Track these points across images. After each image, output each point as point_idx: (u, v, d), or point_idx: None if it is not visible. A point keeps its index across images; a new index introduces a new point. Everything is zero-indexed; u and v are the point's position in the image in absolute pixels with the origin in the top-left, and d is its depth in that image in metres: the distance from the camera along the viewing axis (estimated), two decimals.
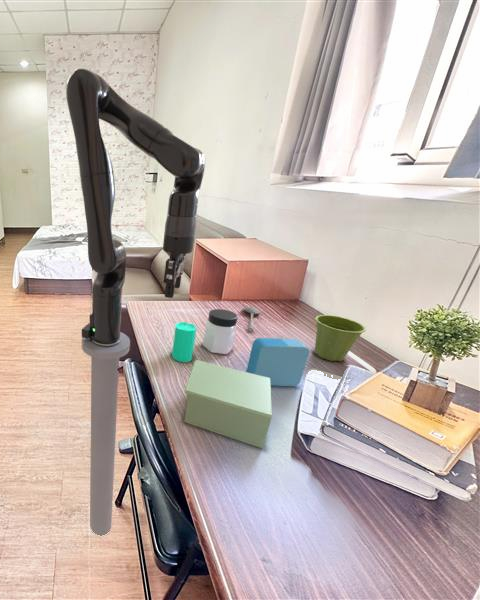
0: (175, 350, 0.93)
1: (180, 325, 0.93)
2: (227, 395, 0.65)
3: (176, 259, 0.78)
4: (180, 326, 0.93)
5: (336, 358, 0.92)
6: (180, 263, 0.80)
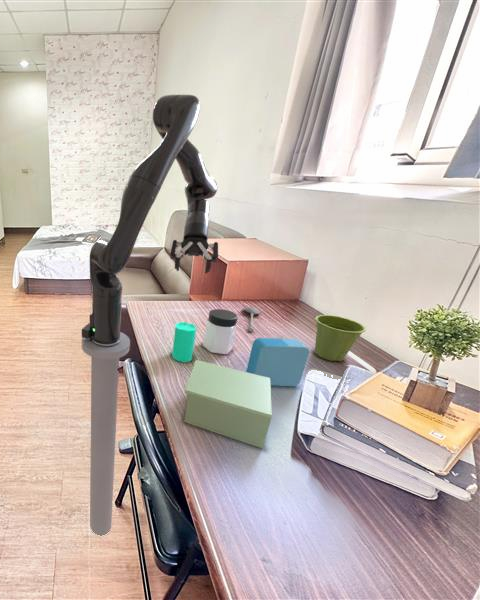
0: (175, 350, 0.93)
1: (180, 325, 0.93)
2: (227, 395, 0.65)
3: None
4: (180, 326, 0.93)
5: (336, 358, 0.92)
6: None
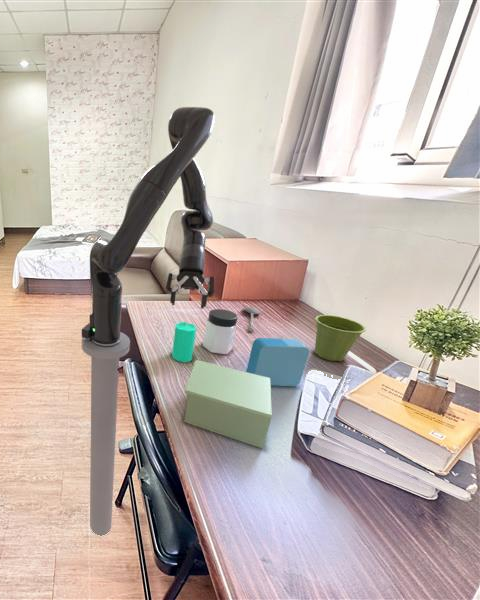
0: (175, 350, 0.93)
1: (180, 325, 0.93)
2: (227, 395, 0.65)
3: None
4: (180, 326, 0.93)
5: (336, 358, 0.92)
6: None
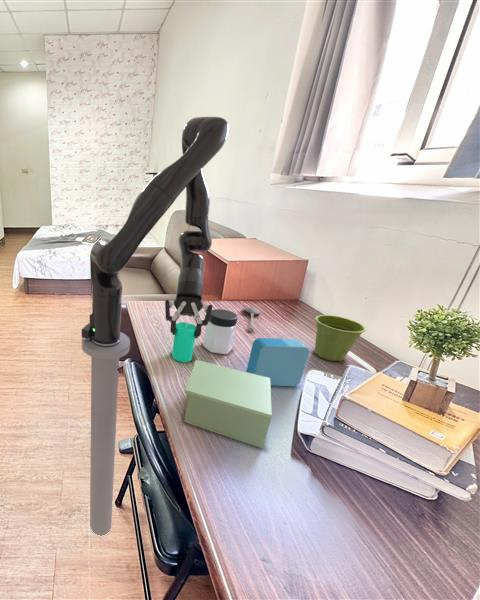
0: (175, 350, 0.93)
1: (180, 325, 0.93)
2: (227, 395, 0.65)
3: None
4: (180, 326, 0.93)
5: (336, 358, 0.92)
6: None
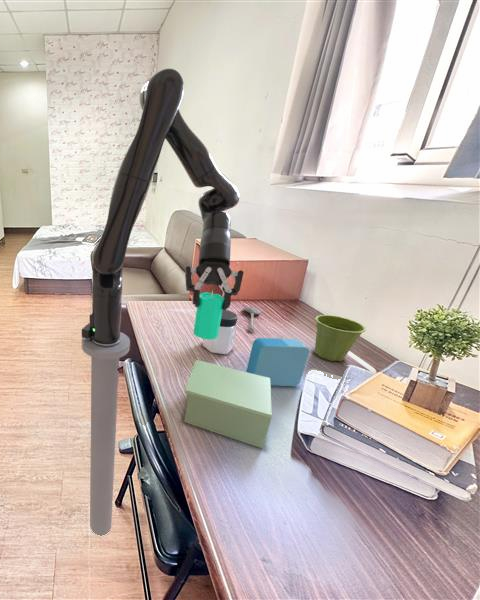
0: (198, 325, 0.78)
1: (204, 295, 0.78)
2: (227, 395, 0.65)
3: None
4: (204, 296, 0.77)
5: (336, 358, 0.92)
6: None
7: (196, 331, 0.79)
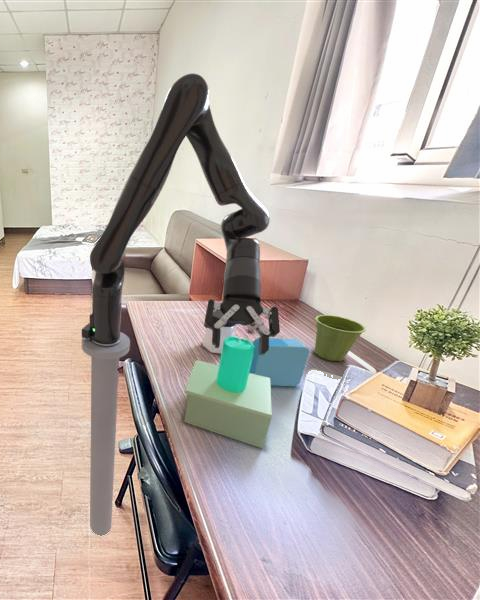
0: (223, 375, 0.67)
1: (230, 341, 0.67)
2: (227, 395, 0.65)
3: None
4: (230, 342, 0.66)
5: (336, 358, 0.92)
6: None
7: (220, 381, 0.68)
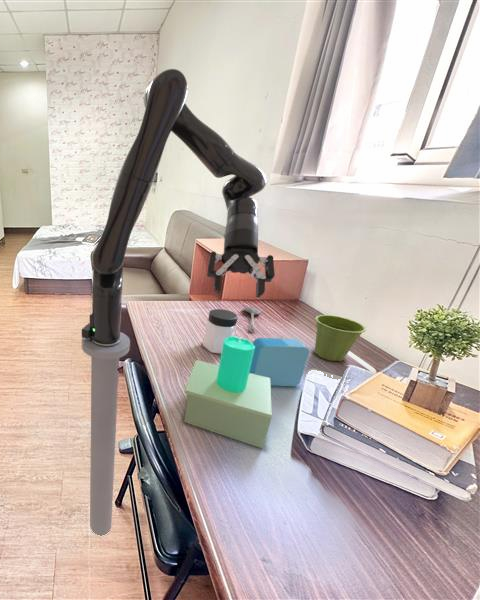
0: (223, 375, 0.67)
1: (230, 341, 0.67)
2: (227, 395, 0.65)
3: None
4: (230, 342, 0.66)
5: (336, 358, 0.92)
6: None
7: (220, 381, 0.68)
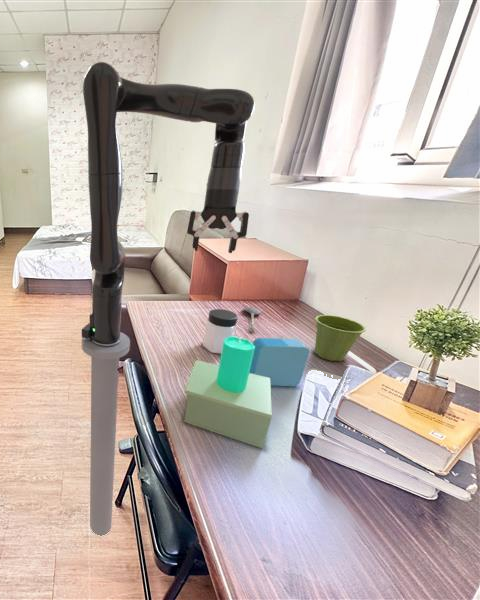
0: (223, 375, 0.67)
1: (230, 341, 0.67)
2: (227, 395, 0.65)
3: None
4: (230, 342, 0.66)
5: (336, 358, 0.92)
6: None
7: (220, 381, 0.68)
